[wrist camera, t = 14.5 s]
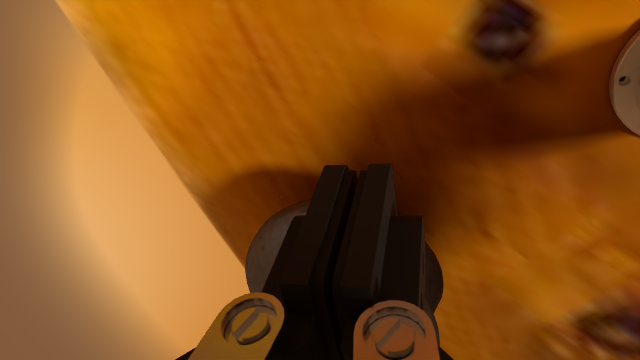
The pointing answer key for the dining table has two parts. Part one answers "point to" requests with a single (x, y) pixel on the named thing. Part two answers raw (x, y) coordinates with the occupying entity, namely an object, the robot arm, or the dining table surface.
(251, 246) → the pitcher
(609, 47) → the dining table surface
